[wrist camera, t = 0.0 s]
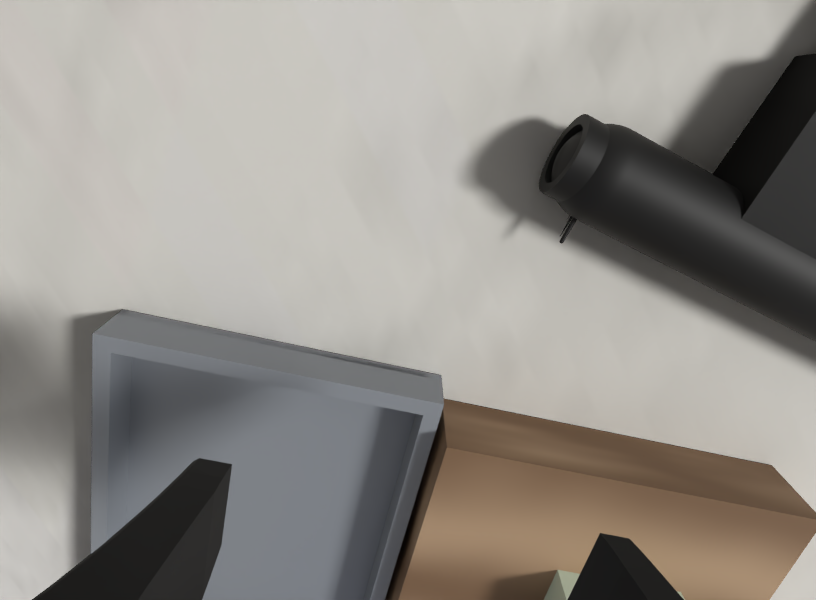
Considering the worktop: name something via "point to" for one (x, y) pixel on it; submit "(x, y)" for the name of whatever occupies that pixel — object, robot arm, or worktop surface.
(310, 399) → the tray
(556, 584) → the block
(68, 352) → the worktop surface
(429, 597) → the wooden cutting board
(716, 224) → the door handle
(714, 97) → the worktop surface
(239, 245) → the worktop surface
